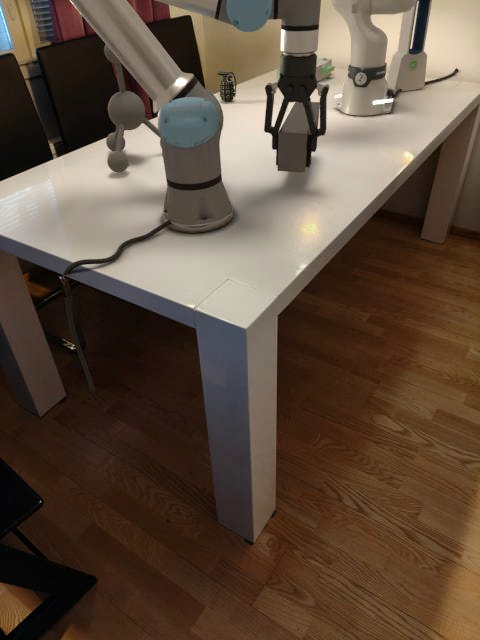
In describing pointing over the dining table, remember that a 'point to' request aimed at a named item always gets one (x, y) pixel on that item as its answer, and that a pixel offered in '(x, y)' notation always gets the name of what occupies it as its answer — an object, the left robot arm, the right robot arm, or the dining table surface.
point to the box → (295, 139)
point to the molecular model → (123, 118)
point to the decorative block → (319, 68)
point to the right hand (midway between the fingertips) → (335, 13)
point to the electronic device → (411, 50)
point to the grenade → (227, 86)
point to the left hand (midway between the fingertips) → (293, 164)
